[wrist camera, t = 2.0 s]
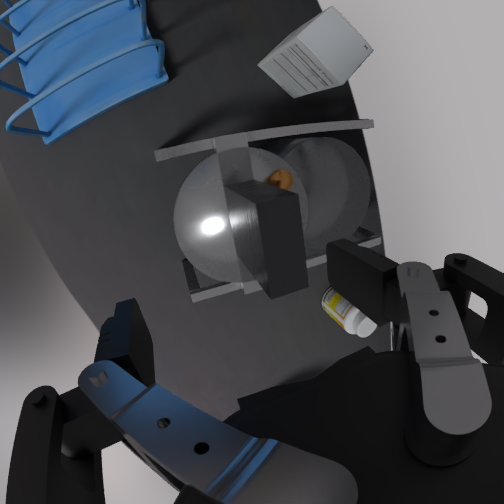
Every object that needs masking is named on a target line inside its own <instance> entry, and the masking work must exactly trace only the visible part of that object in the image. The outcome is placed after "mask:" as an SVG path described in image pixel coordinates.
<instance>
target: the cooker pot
mask: <svg viewBox="0 0 504 504" xmlns="http://www.w3.org/2000/svg"><path fill="white" fill-rule="evenodd" d="M368 128H374V123H373V120H369V119H358V120H344V121H332V122H323V123H312V124H302V125H293V126H285V127H277V128H270V129H263V130H256V131H250V132H246V136H247V142H250V141H256V140H262V139H268V138H275V137H282V136H289V135H297V134H305V133H314V132H323V131H333V130H345V129H368ZM213 148H214V147H213V142H212V138H210V139H206V140H201V141H196V142H191V143H187V144H182V145H178V146H174V147H170V148H162V149H158V150H154V152H155V157H156V162H160V161H164V160H168V159H169V158H172V157H177V156H181V155H185V154H189V153H194V152H198V151H203V150H208V149H213ZM262 150H266V151H269V152H271V153H273V154H275V155H277V156H278V157H280V158H281V159H283V160H284V161H285V162H287V163H288V164H289V165H290V166H291V167H292V168H293V170H294V171H295V172H296V173H297V175H298V177H299V178H300V180H301V182H302V184H303V186H304V189H305V192H306V196H307V202H308V220H307V225H306V230H305V233H304V245H305V248H306V249H311V250H325V249H326V245H327V243H328V242H332V241H335V240H338V239H342V238H345V239H348V238H349V237H351V236H354V237H356V238H358V239H360V241H357V242H354V243H355V244H357V245H359V246H363V247H367V248H370V247H373V246H376V245H379V244H381V237H380V236H378V235H377V234H375V233H373V232H371V231H368V230H366V229H364V228H362V227H359V226H360V225H361V223H362V221H363V219H364V217H365V215H366V212H367V209H368V206H369V201H370V179H369V174H368V171H367V168H366V166H365V164H364V162H363V160H362V158H361V157H360V155H359V154H358V153H357V152H356V151H355V150H354V149H353V148H352V147H351V146H350V145H348V144H347V143H345V142H343V141H341V140H338V139H335V138H330V137H308V138H286V139H279V140H276V141H273V142H271V143H269V144H267V145H266V146H264V147H263V148H262ZM325 262H327V257H326V251H325V252H322V253H318V254H315V255H312V256H309V257H306V265H307V268H309V267H312V266H315V265H319V264H322V263H325ZM182 263H183V267H184V271H185V275H186V279H187V283H188V287H189V291H190V294H191V298H192V301H193V302H197V301H200V300H204V299H207V298H211V297H214V296H218V295H221V294H224V293H228V292H231V291H235V290H238V289H241V283H230V282H221V283H218V284H214V285H211V286H207V287H204V288H200V286H199V283H198V280H197V277H196V274H195V271H194V268H193V265H192V264H191V263H190V261H189V260H188V259H187V260H184V261H182Z"/></svg>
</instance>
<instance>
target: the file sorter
mask: <svg viewBox="0 0 504 504" xmlns="http://www.w3.org/2000/svg"><path fill="white" fill-rule="evenodd" d="M2 1H3V2H4V3H5V4H6V5H7V6H8V7H9V9H8V10H7V11H6V12H4V13H3V14H2V15H0V23H1V24H2V25H3V26H4V27H6V28H7V29H8V30H9V31H11V32H12V35H13V40H14V45H15V49H16V52H14V53H12V52H11V51H9V50H8V49H6V48H5V47H4V46H2V45H1V44H0V52H2V53H4V54H5V55H7V56H8V58H6V59H5V60H4V61H3V62H2V63H1V64H0V72H1V71H2V69H3V68H4V67H6V66H7V65H8V64H9V63H10V62H12V61H13V60H15V61H17V62H18V63H19V66H20V70H21V74H22V77H23V81H24V84H25V88H26V91H25V90H22V89H20V88H18V87H15V86H12V85H10V84H8V83H5V82H3V81H1V80H0V88H3V89H6V90H8V91H11V92H14V93H16V94H19V95H22V96H25V97H27V98H29V102H27V103H26V104H25V105H23V106H22V107H21V108H19V109H18V110H17V111H16V112H15V113H14V114H13V115H12V116H11V117H10V118H9V119H8V121H7V123H6V130H7V131H8V132H9V133H15V134H24V135H32V136H42V138H43V141H44V143H45V144H47V145H51V144H53V143H54V142H56V141H57V140H59V139H60V138H62V137H63V136H65V135H66V134H68V133H70V132H71V131H73V130H75V129H76V128H78V127H80V126H81V125H83V124H85V123H87V122H88V121H90V120H92V119H94V118H95V117H97V116H99V115H101V114H103V113H105V112H106V111H108V110H110V109H112V108H114V107H116V106H118V105H120V104H122V103H124V102H126V101H128V100H130V99H132V98H134V97H136V96H139V95H141V94H143V93H145V92H148V91H150V90H152V89H155V88H157V87H159V86H162V85H164V84H167V83H168V81H169V78H168V75H167V72H166V70H165V68H164V65H163V64H164V55H165V45H164V42H163V41H162V40H159V39H152V36H151V34H150V32H149V29H148V27H147V20H146V1H145V0H138V1H139V2H140V7H139V5H138V2H137V0H20V1H19V2H17V3H16V4H14V5H12V4H11V3H10V2H9V1H8V0H2ZM7 16H9V18H10V24H11V25H10V24H9V23H7V22H6V21H5V20H4V19H5V18H6V17H7ZM156 46H158V47H159V49H158V51H157V48H156ZM30 108H32V110H33V113H34V116H35V119H36V121H37V124H38V127H39V130H34V129H28V128H21V127H15V126H12V124H13V123H14V121H15V120H16V119H17V118H18V117H20V116H21V115H22V114H23V113H25V112H26V111H27V110H29V109H30Z"/></svg>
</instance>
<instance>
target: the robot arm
mask: <svg viewBox="0 0 504 504" xmlns="http://www.w3.org/2000/svg"><path fill="white" fill-rule="evenodd" d="M326 257H327V271H328V280H329V283H330V285H331V287H332V288H333V289H334V290H335V291H336V292H337V293H338V294H340V295H341V296H342V297H343V298H345V299H346V300H347V301H348V302H350V303H351V304H352V305H353V306H355V307H356V308H357V309H358V310H359V311H361V312H362V313H363V314H364V315H366V316H367V317H368V318H369V319H370V320H372V321H373V322H374V323H375V324H377V325H378V326H379V327H381V326H383V325H385V324H387V323H389V322H392V347H393V351H385V352H380V353H375V352H374V351H373V350H372V349H371V348H370V347H369V346H367V347H365V348H363V349H361V350H359V351H357V352H355V353H353V354H351V355H348V356H346V357H344V358H342V359H340V360H339V361H337V362H336V363H335V364H333V365H332V366H330V367H329V368H328V369H326V370H325V371H324V372H322V373H321V374H319V375H318V376H317V377H315V378H313V379H311V380H308V381H303V382H298V383H293V384H287V385H282V386H276V387H271V388H269V389H266V390H263V391H260V392H257V393H254V394H251V395H248V396H245V397H242V398H239V399H237V401H238V404H239V406H240V410H239V411H237V412H235V413H234V414H232V415H231V416H229V417H228V418H227V419H226V420H224V421H223V422H222V421H220V420H218V419H216V418H214V417H212V416H211V415H209V414H207V413H205V412H203V411H202V410H200V409H198V408H196V407H194V406H193V405H191V404H189V403H188V402H186V401H184V400H182V399H181V398H179V397H177V396H176V395H174V394H173V393H171V392H169V391H168V390H166V389H165V388H163V387H161V386H160V385H158V384H156V383H155V371H154V354H153V343H152V339H151V335H150V332H149V330H148V327H147V325H146V323H145V320H144V318H143V315H142V313H141V310H140V308H139V305H138V303H137V301H136V299H135V298H133V299H129V300H125V301H122V302H118V303H117V304H116V308H115V313H114V317H110V318H108V319H107V320H106V321H105V323H104V324H103V325H102V327H101V331H100V337H99V340H98V344H97V349H96V354H95V359H94V363H93V364H91V365H89V366H88V367H86V368H85V369H84V370H83V371H82V372H81V374H80V376H79V378H78V385H79V386H78V387H76V388H74V389H72V390H70V391H68V392H66V393H63V394H61V395H59V394H58V393H57V392H56V390H55V389H54V388H53V387H51V386H41V387H38V388H36V389H34V390H33V391H32V392H30V393H29V394H28V396H27V397H26V398H25V400H24V403H23V406H22V410H21V414H20V418H19V422H18V426H17V431H16V435H15V440H14V446H13V450H12V456H11V462H10V468H9V476H8V484H7V493H6V504H105V495H104V485H103V474H102V457H101V450H102V449H104V448H106V447H108V446H111V445H113V444H115V443H117V442H119V441H121V442H122V443H123V444H124V445H125V446H126V447H128V448H129V449H130V450H131V451H132V452H133V453H134V454H135V455H136V456H137V457H138V458H140V459H141V460H142V461H143V462H144V463H145V464H146V465H148V466H149V467H150V468H151V469H152V470H153V471H155V472H156V473H157V474H158V475H159V476H160V477H162V478H163V479H164V480H165V481H166V482H167V483H168V484H170V485H171V486H172V487H173V488H175V489H176V490H177V491H179V492H180V493H179V495H178V497H177V498H176V500H175V502H174V504H504V273H502V272H500V271H498V270H496V269H494V268H492V267H490V266H488V265H486V264H484V263H483V262H481V261H479V260H477V259H475V258H473V257H470V256H468V255H465V254H460V253H453V254H449V255H447V256H446V257H445V261H444V268H441V269H436V270H432V269H431V268H430V267H429V266H428V265H426V264H424V263H421V262H405V263H402V264H398V263H396V262H394V261H392V260H391V259H389V258H387V257H385V256H382V255H381V254H379V253H376V252H375V251H373V250H371V249H369V248H367V247H363V246H359V245H357V244H355V243H353V242H351V241H349V240H347V239H345V238H342V239H338V240H335V241H332V242H328V243H327V245H326ZM471 292H473V293H475V294H476V295H478V296H480V297H481V298H483V299H484V300H485V301H486V303H487V306H488V311H487V315H486V318H485V319H484V318H483V317H481V316H480V315H478V314H477V313H475V312H474V311H472V310H471V309H469V308H468V304H469V299H470V295H471ZM471 350H473V351H474V352H475V353H476V354H477V355H479V356H480V357H481V358H482V359H484V360H485V361H486V362H487V363H488V364H485V363H481V362H480V360H479V359H475V358H474V357H473V356H472V353H471Z"/></svg>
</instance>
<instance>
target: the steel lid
mask: <svg viewBox="0 0 504 504" xmlns="http://www.w3.org/2000/svg"><path fill="white" fill-rule="evenodd" d="M212 142H213V147H214V154H212V155H210V156H208V157H207V158H205V159H203V160H202V161H201V162H200V163H198V164H197V165H196V166H195V167H194V168H193V169H192V170H191V171H190V172H189V174H188V175H187V176H186V178H185V179H184V181H183V183H182V184H181V186H180V188H179V191H178V193H177V196H176V200H175V204H174V212H173V220H174V228H175V234H176V237H177V240H178V243H179V246H180V248H181V250H182V252H183V253H184V255H185V256H186V258H187V259H188V260H189V261H190V263H191V264H192V265H193V266H194V267H196V268H197V269H198V270H199V271H200V272H202V273H204V274H205V275H207V276H209V277H211V278H214V279H216V280H220V281H224V282H230V283H241V288H242V291H243V292H244V294H249V293H252V292H255V291H258V290H262V289H263V290H264V291H265V292H266V293H267V295H268V296H269V297H270V299H274V298H277V297H280V296H283V295H286V294H289V293H292V292H295V291H298V290H301V289H304V288H307V287H309V286H308V275H307V265H306V254H305V245H304V233H305V230H306V225H307V220H308V202H307V196H306V192H305V189H304V186H303V184H302V182H301V180H300V178H299V177H298V175H297V173H296V172H295V171H294V170H293V168H292V167H291V166H290V165H289V164H288V163H287V162H285V161H284V160H283V159H281V158H280V157H278V156H277V155H275V154H273V153H271V152H269V151H266V150H262V149H258V148H252V147H248V142H247V136H246V132H243V133H237V134H231V135H226V136H220V137H215V138H212Z"/></svg>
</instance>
